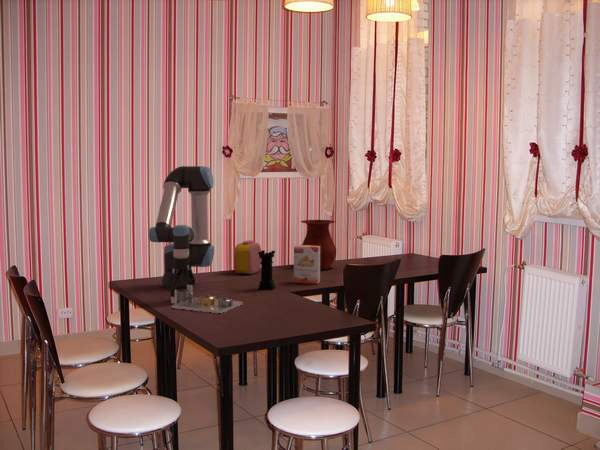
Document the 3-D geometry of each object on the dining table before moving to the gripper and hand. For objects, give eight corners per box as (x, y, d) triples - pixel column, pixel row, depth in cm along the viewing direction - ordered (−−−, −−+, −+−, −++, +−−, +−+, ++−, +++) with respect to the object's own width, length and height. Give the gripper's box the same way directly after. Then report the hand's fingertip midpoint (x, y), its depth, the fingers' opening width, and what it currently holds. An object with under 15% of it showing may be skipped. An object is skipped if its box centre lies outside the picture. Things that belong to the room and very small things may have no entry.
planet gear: (171, 301, 315) (170, 291, 315) (180, 298, 322) (179, 288, 322) (184, 303, 312) (184, 292, 312) (193, 299, 319) (192, 289, 319)
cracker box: (293, 283, 363) (293, 246, 361) (296, 281, 369) (296, 244, 367) (318, 284, 360) (318, 246, 358) (320, 282, 366) (320, 245, 364)
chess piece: (272, 290, 343) (272, 252, 341) (257, 289, 345) (257, 252, 343) (275, 287, 351) (275, 250, 349) (261, 286, 352) (261, 250, 350)
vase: (334, 265, 427) (334, 219, 424) (338, 271, 403) (339, 222, 401) (298, 265, 425) (298, 219, 422) (300, 271, 402) (301, 223, 399)
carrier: (171, 308, 301) (171, 296, 300) (195, 300, 319) (195, 288, 318) (220, 313, 290) (220, 301, 290) (242, 304, 308) (242, 293, 308)
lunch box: (245, 270, 406) (245, 239, 405) (262, 271, 403) (262, 240, 401) (233, 275, 389) (233, 242, 387) (250, 276, 386) (250, 243, 384)
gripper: (172, 261, 302) (173, 306, 304) (202, 254, 325) (202, 296, 327) (159, 260, 305) (160, 304, 307) (189, 253, 328) (189, 295, 330)
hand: (181, 300), depth 317 cm, fingers open, 13 cm apart
